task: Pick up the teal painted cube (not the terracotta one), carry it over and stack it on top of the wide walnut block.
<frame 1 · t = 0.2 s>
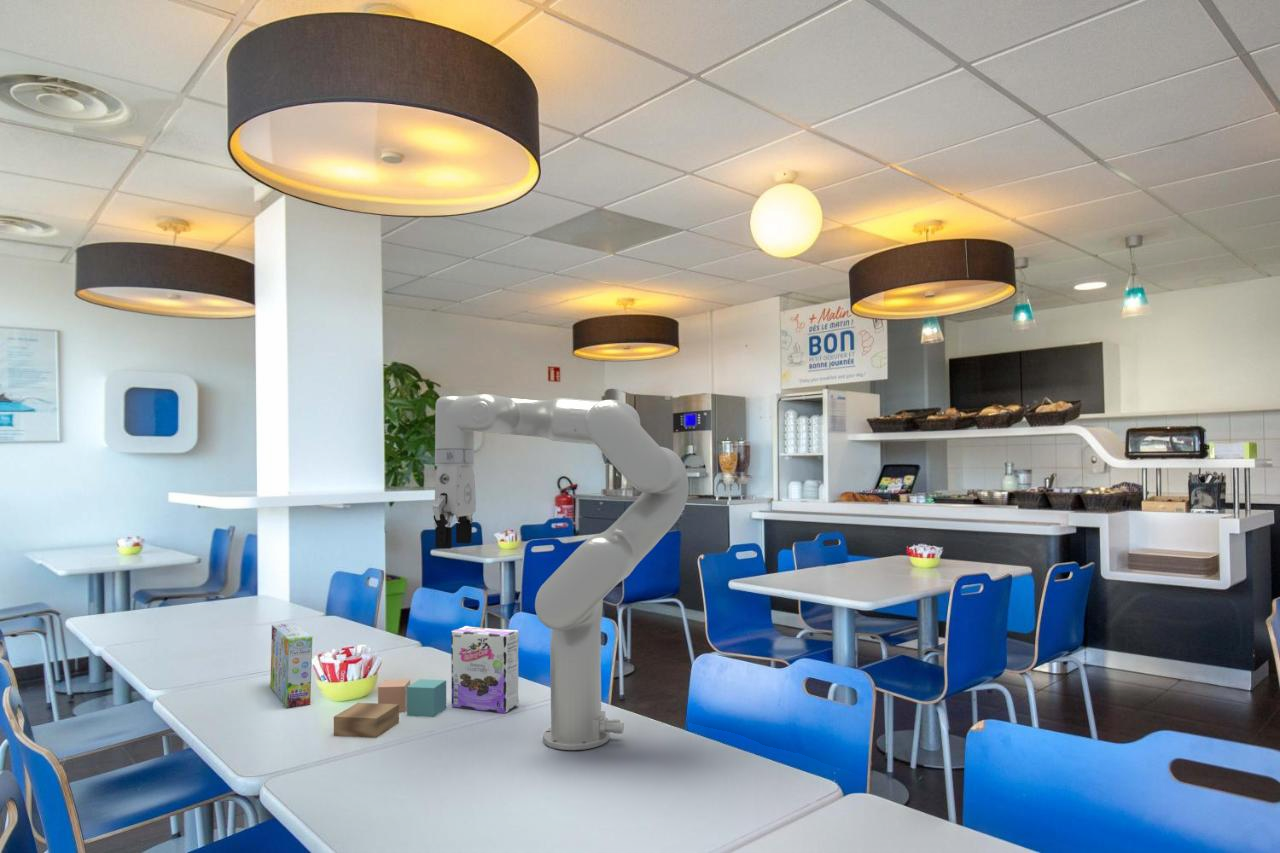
hand: (454, 545, 156), 36 cm above the table, tool pointing down, fingers open, 9 cm apart
terracotta cube: (394, 709, 170), on the table
snack box: (290, 696, 182), on the table
teal cube: (427, 712, 168), on the table
candy box: (485, 707, 171), on the table
walnut block: (367, 730, 157), on the table
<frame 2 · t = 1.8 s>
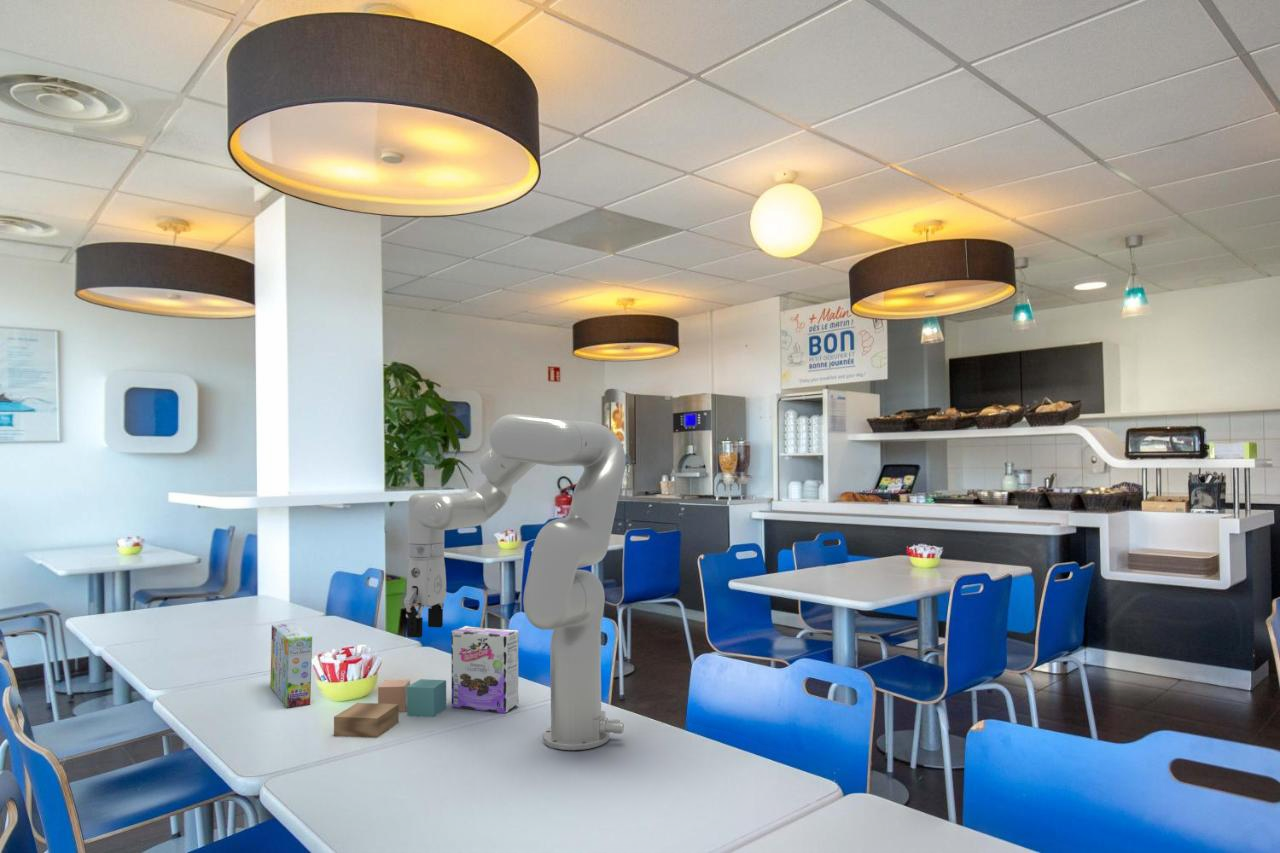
hand: (425, 631, 169), 17 cm above the table, tool pointing down, fingers open, 9 cm apart
nothing on the table moved.
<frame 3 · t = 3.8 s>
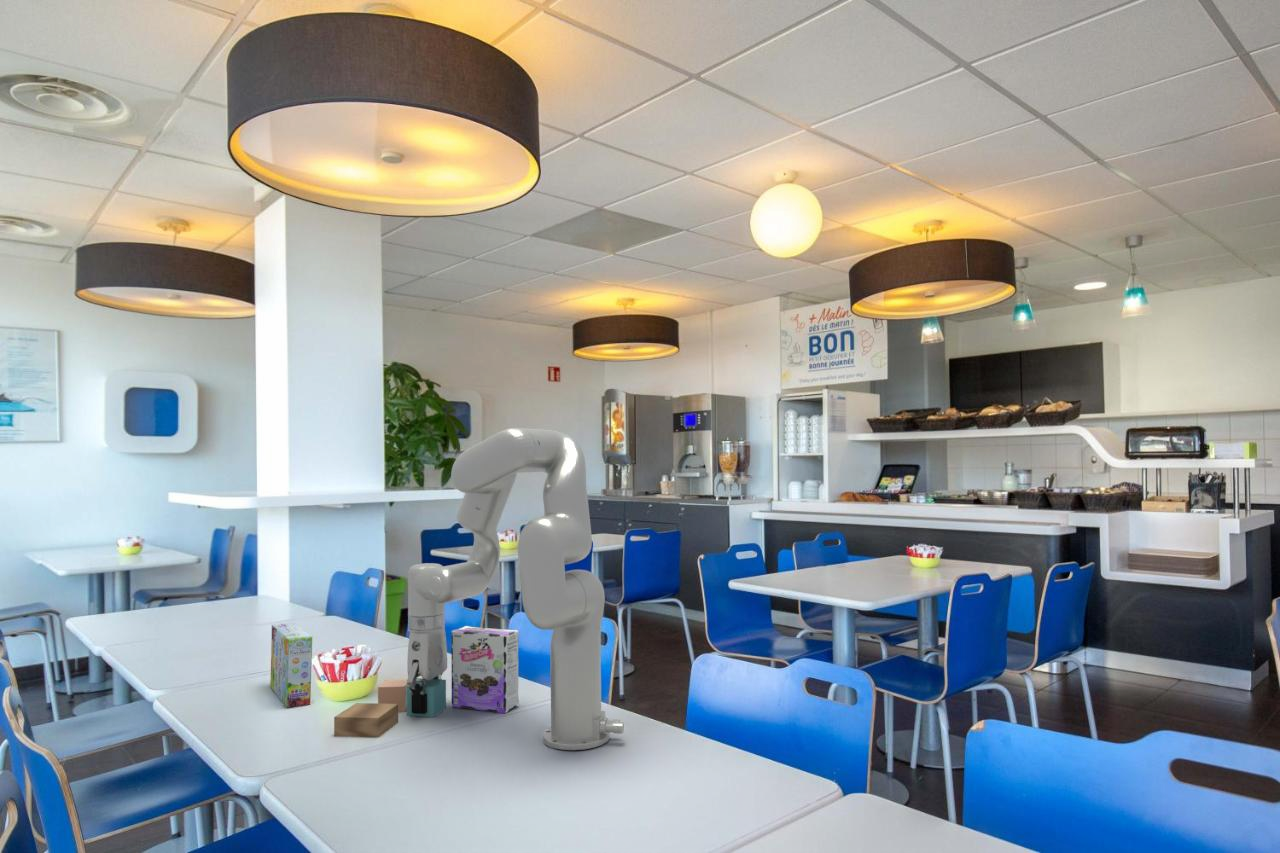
hand: (426, 707, 168), 1 cm above the table, tool pointing down, fingers closed on teal cube, 6 cm apart
teal cube: (426, 711, 168), on the table, touching gripper
everything else where it was.
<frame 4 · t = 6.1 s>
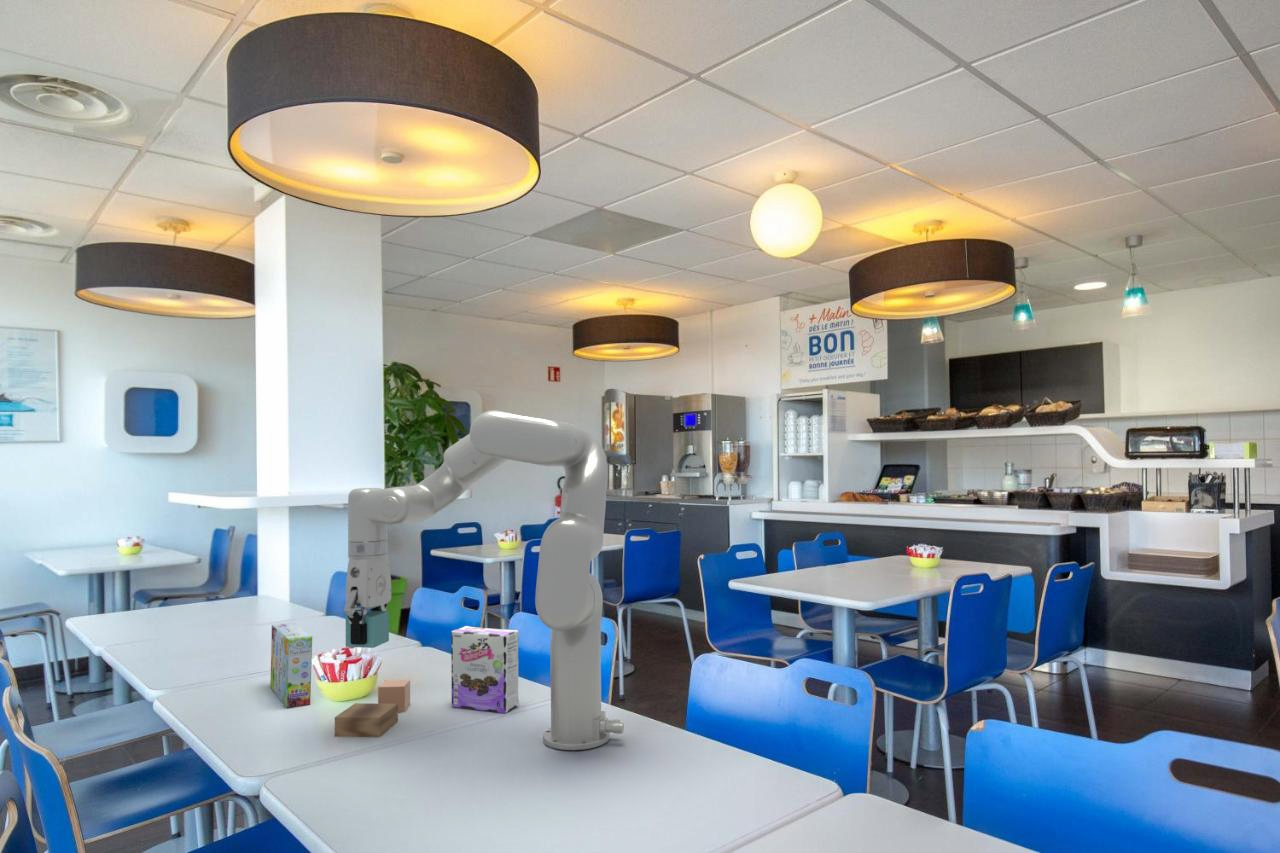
hand: (367, 639, 158), 18 cm above the table, tool pointing down, fingers closed on teal cube, 6 cm apart
teal cube: (367, 643, 158), point 17 cm above the table, touching gripper
everything else where it was.
when the fingers open (6 cm above the table, at t = 8.6 s): teal cube drops 2 cm, resting on walnut block.
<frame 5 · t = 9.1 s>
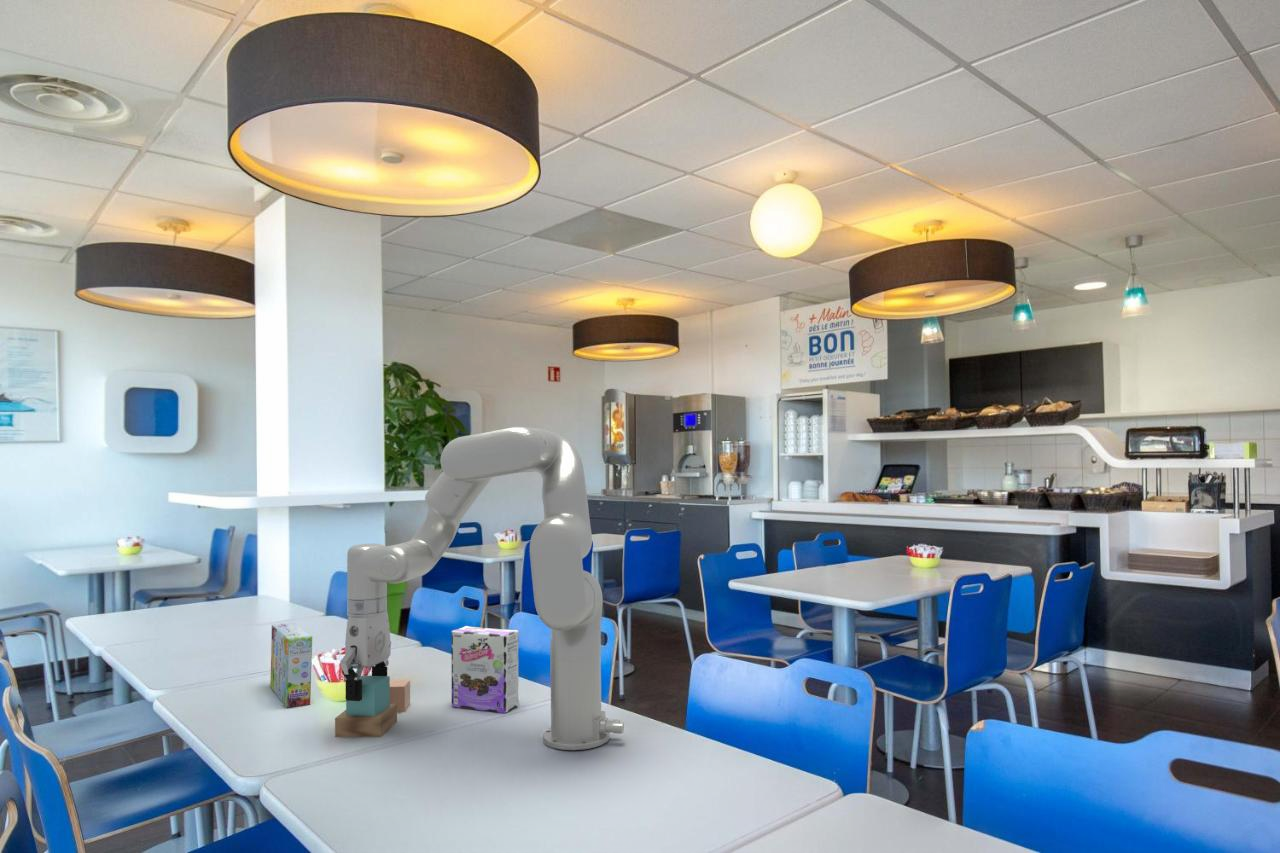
hand: (367, 693, 158), 7 cm above the table, tool pointing down, fingers open, 9 cm apart
teal cube: (368, 710, 158), point 4 cm above the table, touching walnut block
walnut block: (366, 731, 157), on the table, touching teal cube
everything else where it was.
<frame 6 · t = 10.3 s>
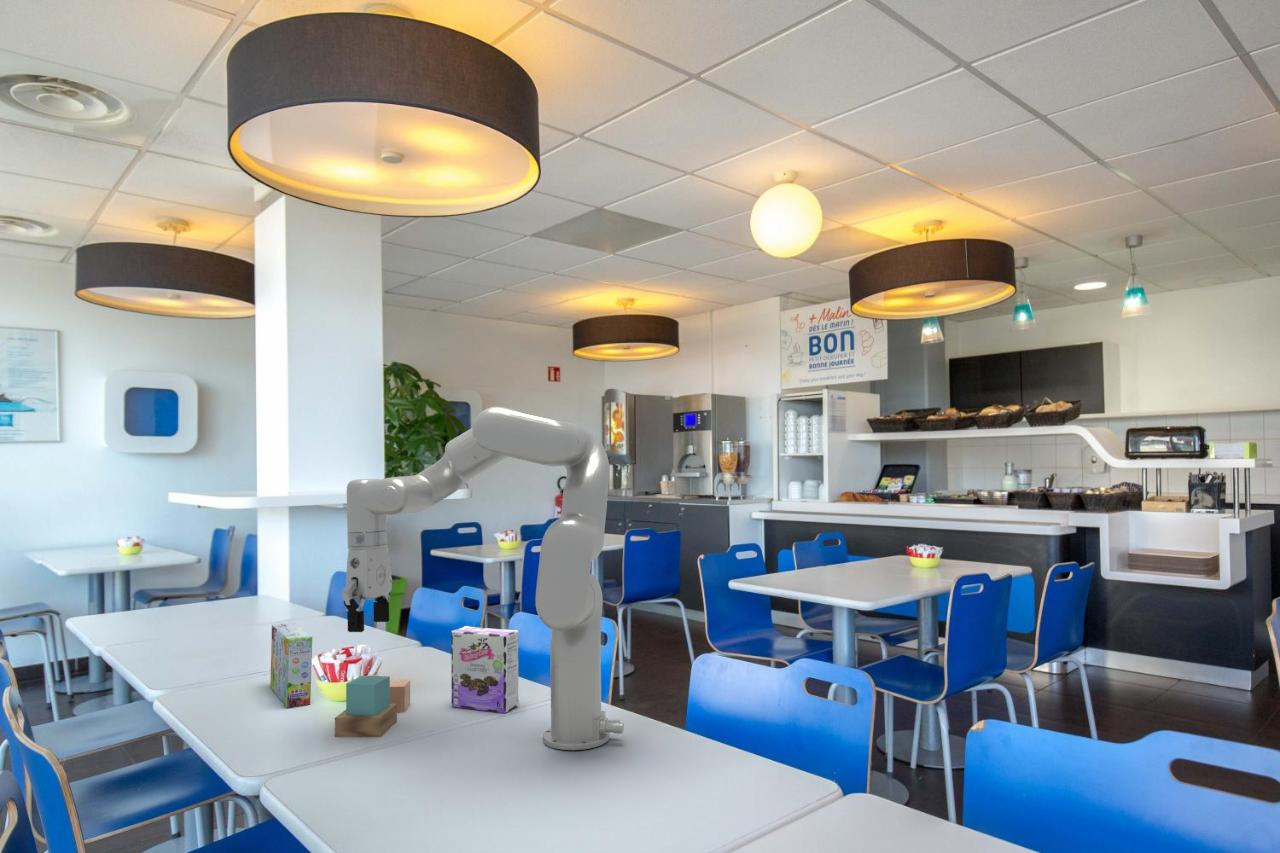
hand: (369, 626, 158), 20 cm above the table, tool pointing down, fingers open, 9 cm apart
nothing on the table moved.
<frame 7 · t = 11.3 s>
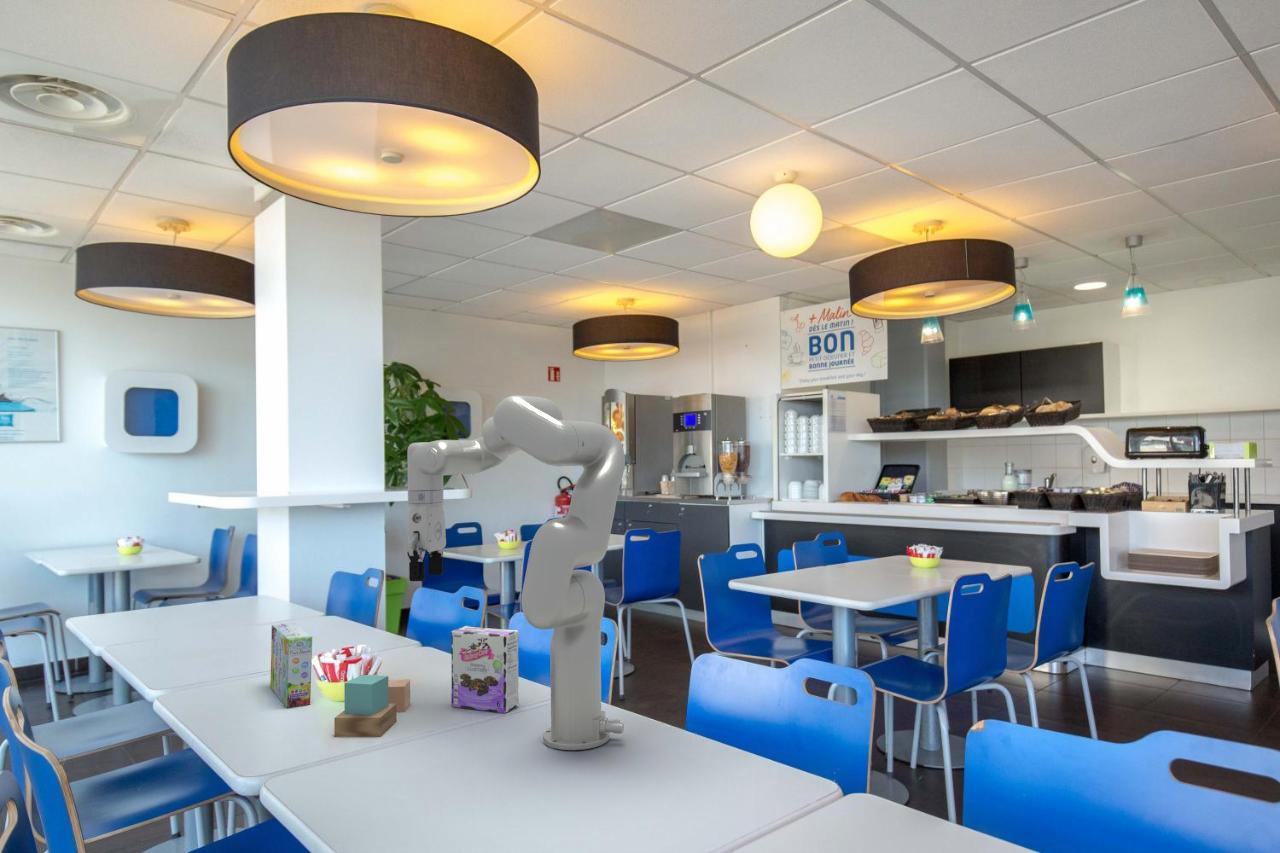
hand: (426, 577, 172), 28 cm above the table, tool pointing down, fingers open, 9 cm apart
nothing on the table moved.
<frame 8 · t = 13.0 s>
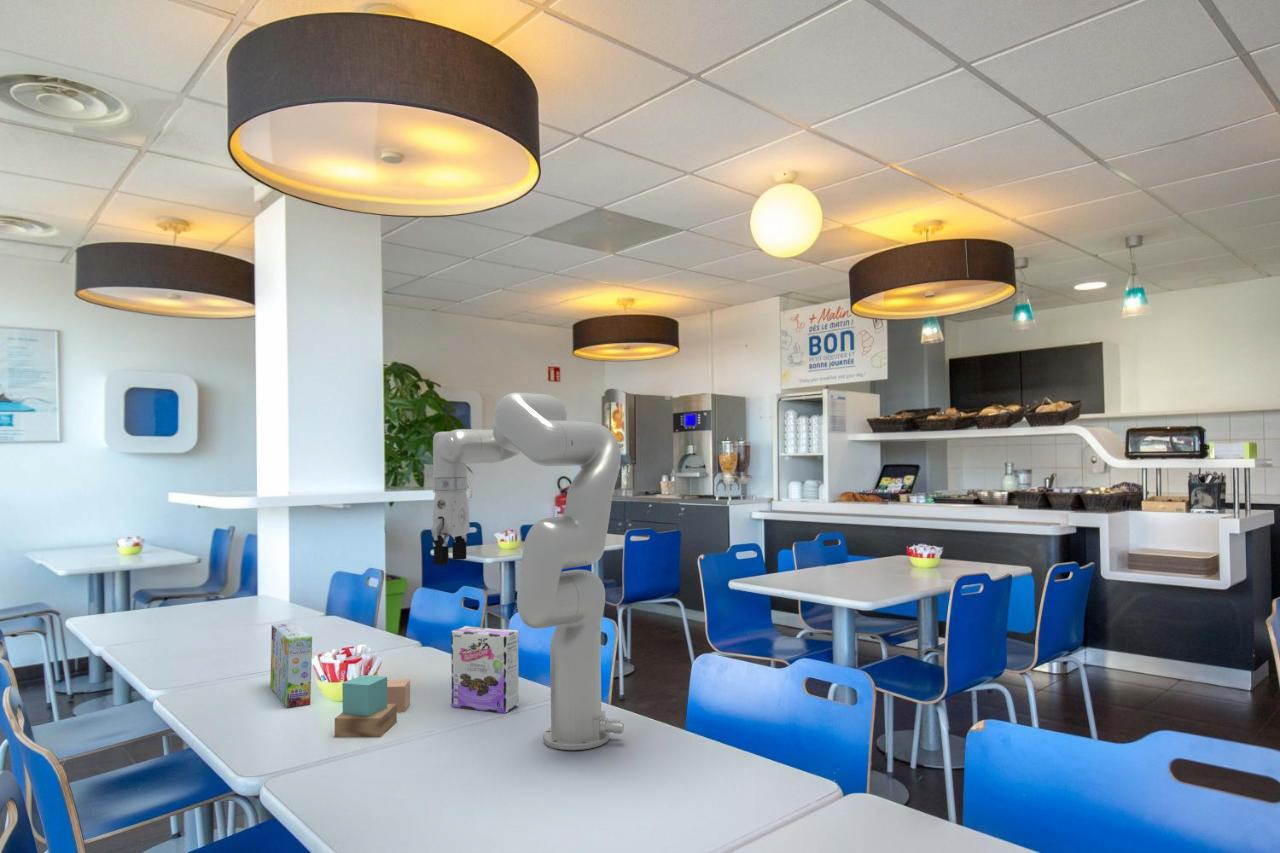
hand: (450, 561, 179), 30 cm above the table, tool pointing down, fingers open, 9 cm apart
teal cube: (365, 710, 157), point 4 cm above the table
walnut block: (366, 731, 157), on the table
everything else where it was.
at the end: teal cube 0.3 cm off-centre on the walnut block, point 4.0 cm above the walnut block's base; teal cube tilted 0°; the gripper is holding nothing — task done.
